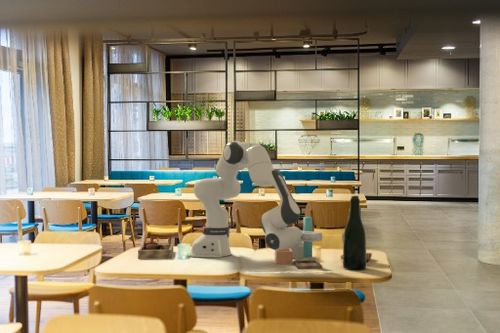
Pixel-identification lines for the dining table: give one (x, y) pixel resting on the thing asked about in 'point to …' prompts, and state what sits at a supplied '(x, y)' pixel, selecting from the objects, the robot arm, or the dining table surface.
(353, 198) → the dark green wine bottle
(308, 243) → the teal dowel
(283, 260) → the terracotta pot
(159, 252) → the shallow wooden crate
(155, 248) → the pottery mug
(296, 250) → the gray bumpy block
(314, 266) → the walnut tray
